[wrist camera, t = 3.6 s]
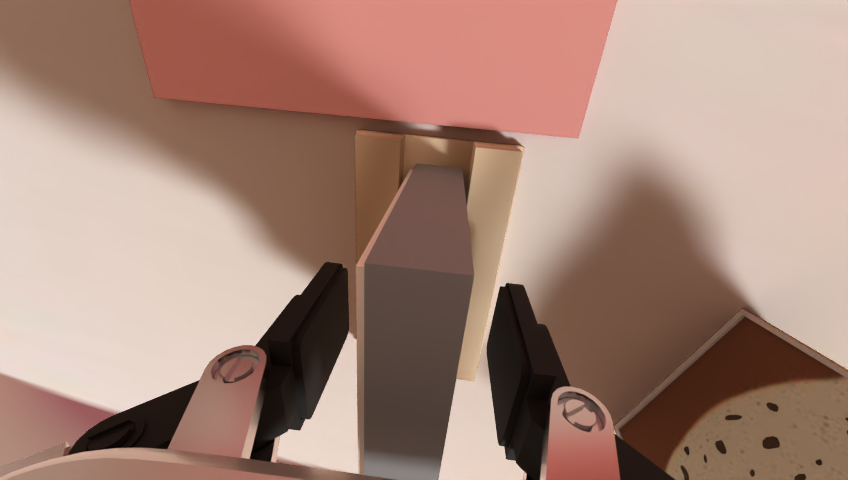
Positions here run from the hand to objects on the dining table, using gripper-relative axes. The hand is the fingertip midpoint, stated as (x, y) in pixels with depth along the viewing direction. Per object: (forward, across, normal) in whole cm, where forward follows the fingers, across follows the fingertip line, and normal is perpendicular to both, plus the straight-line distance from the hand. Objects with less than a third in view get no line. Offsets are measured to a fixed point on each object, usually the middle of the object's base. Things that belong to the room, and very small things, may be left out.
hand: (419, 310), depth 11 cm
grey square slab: (+3, 0, 0) cm, 3 cm away
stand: (+4, 0, 0) cm, 4 cm away
